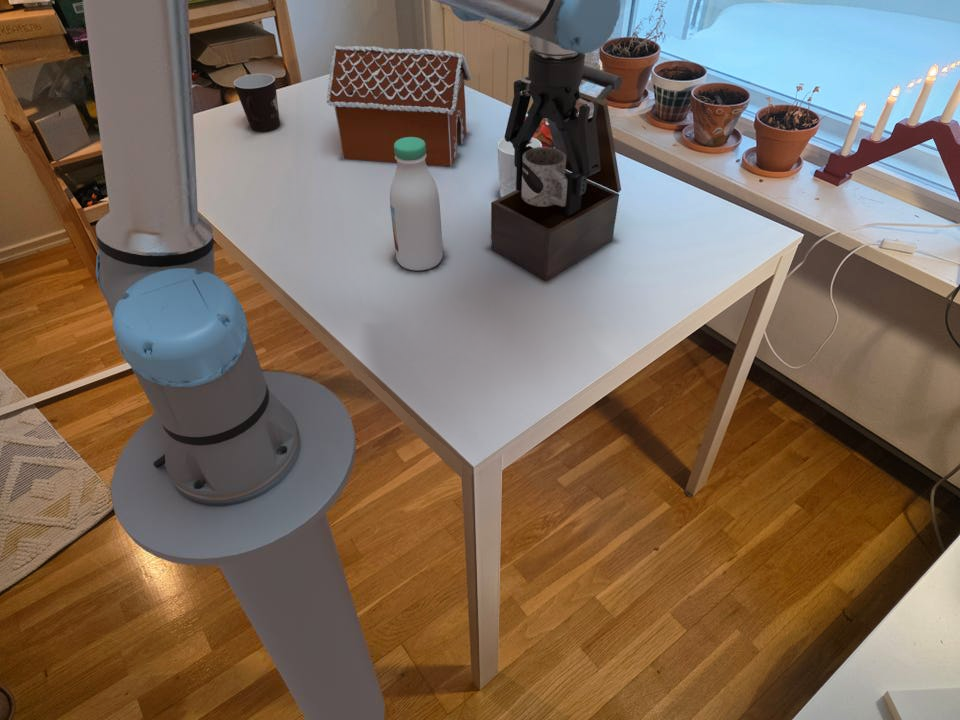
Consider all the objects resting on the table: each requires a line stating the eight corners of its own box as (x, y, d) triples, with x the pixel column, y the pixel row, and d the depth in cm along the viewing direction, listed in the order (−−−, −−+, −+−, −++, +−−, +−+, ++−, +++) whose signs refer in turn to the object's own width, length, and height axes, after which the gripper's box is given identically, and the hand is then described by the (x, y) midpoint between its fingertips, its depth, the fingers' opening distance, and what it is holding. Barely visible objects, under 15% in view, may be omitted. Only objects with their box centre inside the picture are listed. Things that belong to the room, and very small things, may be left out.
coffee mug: (262, 115, 150) (252, 71, 143) (292, 122, 147) (283, 77, 140) (228, 135, 142) (215, 89, 135) (259, 142, 140) (247, 96, 133)
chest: (546, 281, 102) (549, 233, 96) (491, 249, 109) (491, 202, 103) (612, 240, 110) (619, 194, 104) (557, 213, 117) (560, 167, 111)
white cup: (547, 195, 122) (551, 144, 115) (518, 211, 118) (520, 159, 111) (517, 181, 126) (518, 131, 119) (488, 195, 122) (488, 145, 115)
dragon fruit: (516, 150, 139) (553, 178, 133) (493, 138, 132) (531, 167, 126) (538, 114, 136) (577, 141, 130) (516, 99, 129) (556, 128, 123)
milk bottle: (452, 254, 108) (446, 138, 94) (424, 277, 103) (414, 159, 89) (415, 240, 111) (405, 127, 97) (386, 262, 106) (371, 146, 93)
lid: (603, 105, 89) (636, 71, 91) (537, 81, 96) (568, 50, 98) (618, 193, 104) (646, 163, 105) (559, 166, 111) (586, 138, 112)
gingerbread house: (457, 171, 129) (453, 67, 115) (333, 161, 133) (315, 60, 119) (474, 131, 142) (472, 34, 129) (361, 124, 146) (347, 28, 132)
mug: (513, 191, 104) (514, 152, 100) (548, 182, 107) (551, 143, 102) (546, 220, 98) (549, 180, 93) (583, 209, 100) (587, 169, 95)
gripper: (642, 63, 83) (619, 217, 98) (517, 25, 95) (513, 167, 110) (605, 79, 79) (586, 236, 94) (479, 37, 91) (481, 182, 106)
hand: (547, 199), depth 102 cm, fingers closed on mug, 10 cm apart
